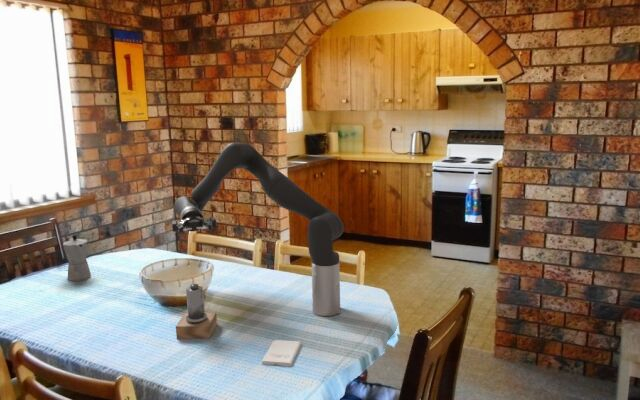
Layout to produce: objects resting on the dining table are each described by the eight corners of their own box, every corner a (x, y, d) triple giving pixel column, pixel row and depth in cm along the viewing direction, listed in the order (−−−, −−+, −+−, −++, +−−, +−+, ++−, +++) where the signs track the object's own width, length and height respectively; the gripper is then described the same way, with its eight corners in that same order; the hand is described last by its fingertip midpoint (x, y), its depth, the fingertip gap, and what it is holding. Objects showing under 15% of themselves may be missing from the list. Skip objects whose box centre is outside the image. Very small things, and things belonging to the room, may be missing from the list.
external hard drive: (301, 346, 155) (290, 368, 143) (274, 344, 156) (261, 365, 144) (300, 341, 154) (290, 362, 142) (273, 339, 156) (261, 360, 144)
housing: (209, 314, 167) (207, 281, 165) (204, 323, 161) (201, 288, 158) (189, 314, 167) (186, 281, 165) (183, 323, 161) (180, 288, 159)
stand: (216, 324, 169) (216, 312, 169) (209, 338, 160) (208, 326, 159) (186, 324, 170) (185, 312, 169) (176, 338, 160) (175, 326, 159)
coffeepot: (97, 278, 215) (92, 235, 211) (73, 284, 208) (68, 240, 205) (82, 269, 226) (78, 229, 222) (59, 275, 219) (54, 233, 216)
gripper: (170, 209, 182) (172, 219, 167) (211, 206, 186) (217, 215, 171) (171, 230, 183) (174, 242, 168) (213, 226, 188) (219, 238, 173)
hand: (196, 229), depth 170 cm, fingers open, 8 cm apart
